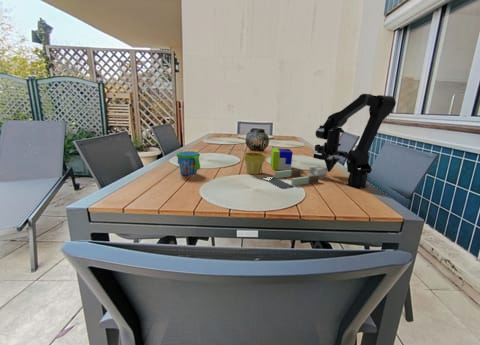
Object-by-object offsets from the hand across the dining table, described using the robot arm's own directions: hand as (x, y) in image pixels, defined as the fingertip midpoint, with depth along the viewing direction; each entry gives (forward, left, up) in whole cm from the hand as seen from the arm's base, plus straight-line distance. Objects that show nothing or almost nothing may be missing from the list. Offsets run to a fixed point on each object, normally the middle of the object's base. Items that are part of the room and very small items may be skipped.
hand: (328, 171), depth 126 cm
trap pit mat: (0, +33, -2) cm, 33 cm away
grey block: (0, +8, -2) cm, 8 cm away
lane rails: (0, +21, -2) cm, 21 cm away
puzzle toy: (+22, +14, -2) cm, 26 cm away
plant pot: (+18, +34, -2) cm, 38 cm away
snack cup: (+28, +65, -2) cm, 71 cm away
